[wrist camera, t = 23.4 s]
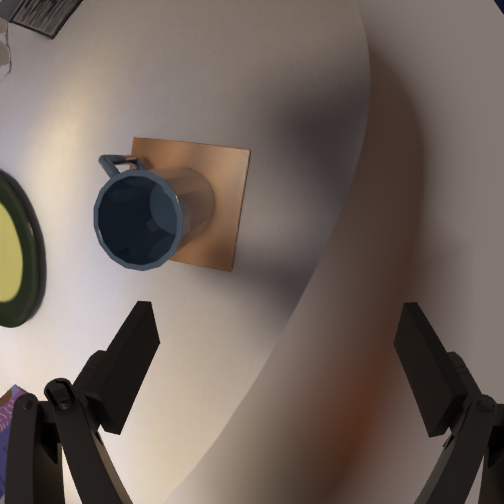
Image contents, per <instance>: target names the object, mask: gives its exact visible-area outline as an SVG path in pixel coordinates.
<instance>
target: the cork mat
mask: <svg viewBox="0 0 504 504" xmlns="http://www.w3.org/2000/svg"><path fill="white" fill-rule="evenodd" d="M250 153H251V151H250V150H245V149H238V148H231V147H223V146H216V145H208V144H199V143H191V142H181V141H171V140H160V139H148V138H135V137H134V139H133V146H132V153H131V155H136V156H138V157H139V158H140V160H141V161H142V162H143V164H144V165H145V166H146V167H147V168H168V167H179V168H189V169H192V170H194V171H196V172H198V173H200V174H201V175H202V176H203V177H204V178H205V179H206V180H207V181H208V182H209V184H210V186H211V187H212V190H213V192H214V196H215V211H214V215H213V218H212V220H211V222H210V223H209V225H208V226H207V228H206V229H205V230H203V231H202V232H201V233H200V234H199V235H197V236H196V237H195V238H194V239H193V240H191V241H190V242H189V243H188V244H186V245H185V246H184V247H183V248H182V249H180V250H179V251H178V252H177V253H176V254H174V255H173V256H172V257H171V258H170V259H168V260H173V261H178V262H183V263H188V264H193V265H198V266H203V267H208V268H213V269H218V270H224V271H229V272H231V271H232V268H233V261H234V254H235V248H236V241H237V235H238V228H239V222H240V216H241V209H242V203H243V197H244V190H245V184H246V178H247V172H248V166H249V160H250ZM131 169H136V168H135V167H134V166H133V164H132V165H130V169H129V170H131Z"/></svg>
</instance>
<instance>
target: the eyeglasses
mask: <svg viewBox="0 0 504 504" xmlns="http://www.w3.org/2000/svg"><path fill="white" fill-rule="evenodd" d="M6 30H7V21H5V20H4V19H2V18H1V17H0V33H3V32H6ZM9 62H10V51H9V48H8V47H7V46H6V45H5V44H4V43H3V42H2V41H0V66H2V65H6V64H8V63H9Z"/></svg>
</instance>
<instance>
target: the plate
mask: <svg viewBox="0 0 504 504" xmlns="http://www.w3.org/2000/svg"><path fill="white" fill-rule="evenodd" d="M38 291H39V265H38V252H37V245H36V240H35V236H34V233H33V230H32V227H31V224H30V222H29V219H28V216H27V214H26V211H25V209H24V207H23V204H22V202H21V200H20V198H19V197H18V195H17V193H16V191H15V190H14V188H13V187H12V186H11V184H10V183H9V182H8V181H7V180H6V179H5V178H4V177H3V176H2V175H0V326H3V327H8V328H14V327H18V326H20V325H22V324H24V323H25V322H26V321H27V320H28V319H29V317H30V316H31V314H32V312H33V310H34V308H35V305H36V301H37V297H38Z"/></svg>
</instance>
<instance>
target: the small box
mask: <svg viewBox="0 0 504 504" xmlns="http://www.w3.org/2000/svg"><path fill="white" fill-rule="evenodd" d="M81 1H82V0H2V1H1V2H0V17H1V18H2V19H4V20H5V21H7V22H9V23H14V24H16V25H19V26H22V27H24V28H27V29H29V30H32V31H35V32H37V33H40V34H42V35H45V36H47V37H49V38H51V39H53V38H54V37H55V35H56V34H57V33H58V31H59V30H60V28H61V27H62V26H63V24H64V23H65V21H66V20H67V19H68V17H69V16H70V15H71V14H72V12H73V11H74V10H75V8H76V7H77V6H78V5H79V3H80V2H81Z"/></svg>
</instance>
